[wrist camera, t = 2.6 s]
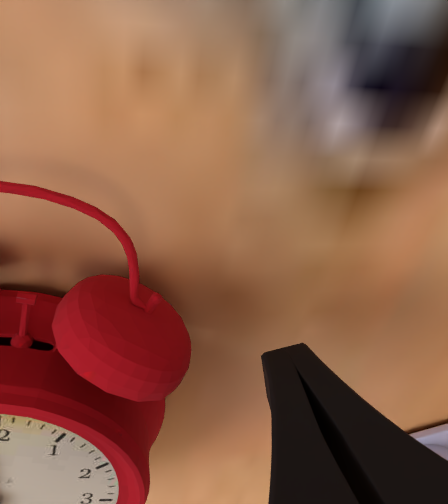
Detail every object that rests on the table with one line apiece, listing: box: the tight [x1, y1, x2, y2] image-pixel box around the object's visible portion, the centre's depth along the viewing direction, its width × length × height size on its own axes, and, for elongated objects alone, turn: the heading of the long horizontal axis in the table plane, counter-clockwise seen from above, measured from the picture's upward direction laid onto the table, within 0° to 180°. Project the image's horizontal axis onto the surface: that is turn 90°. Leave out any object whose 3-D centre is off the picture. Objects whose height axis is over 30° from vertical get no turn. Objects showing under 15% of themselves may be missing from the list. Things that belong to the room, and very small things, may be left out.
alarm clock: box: [0, 181, 191, 504], centre depth 11 cm, size 10×6×15 cm
